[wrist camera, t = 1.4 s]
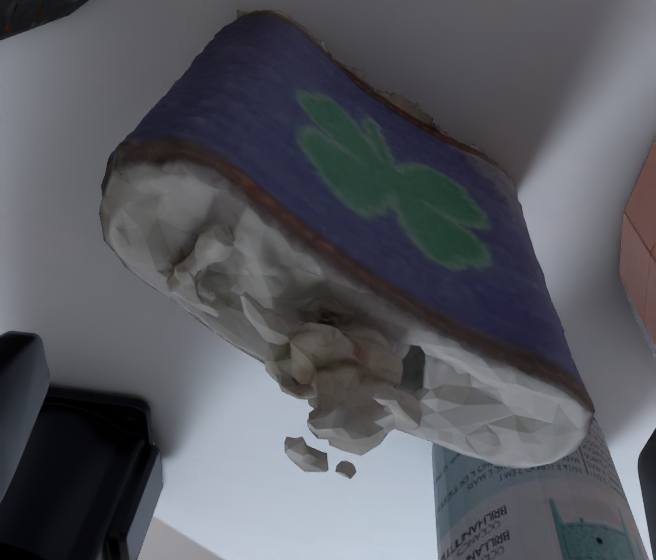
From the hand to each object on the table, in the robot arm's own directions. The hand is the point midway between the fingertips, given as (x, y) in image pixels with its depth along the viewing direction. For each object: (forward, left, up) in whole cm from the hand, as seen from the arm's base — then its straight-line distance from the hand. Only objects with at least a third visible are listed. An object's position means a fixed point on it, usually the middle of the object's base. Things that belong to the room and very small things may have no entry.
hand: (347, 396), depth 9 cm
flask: (0, 0, -10) cm, 10 cm away
